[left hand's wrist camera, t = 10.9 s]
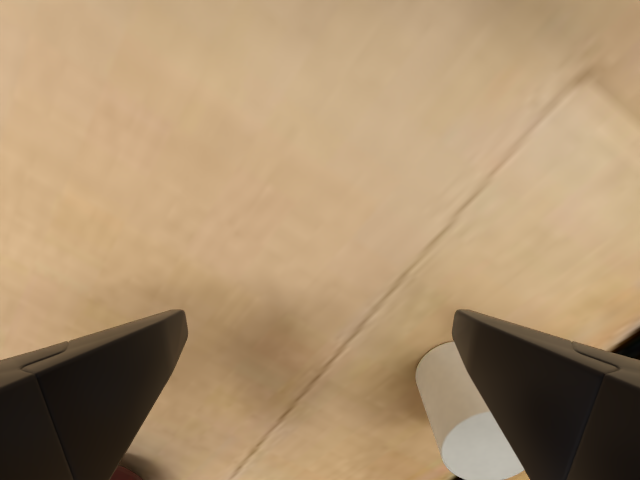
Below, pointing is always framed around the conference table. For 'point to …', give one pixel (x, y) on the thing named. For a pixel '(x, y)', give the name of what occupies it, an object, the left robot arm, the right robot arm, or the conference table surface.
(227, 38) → the conference table surface
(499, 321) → the left robot arm
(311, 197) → the conference table surface
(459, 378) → the can
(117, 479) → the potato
